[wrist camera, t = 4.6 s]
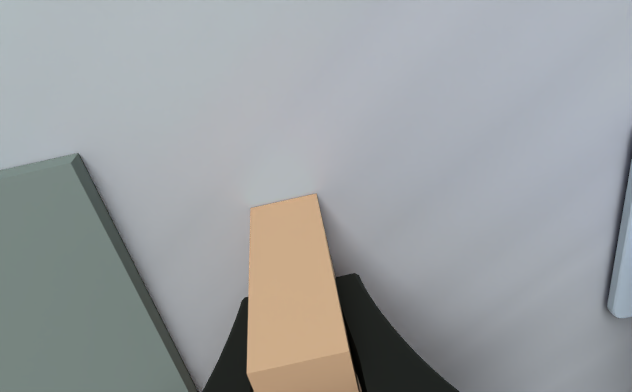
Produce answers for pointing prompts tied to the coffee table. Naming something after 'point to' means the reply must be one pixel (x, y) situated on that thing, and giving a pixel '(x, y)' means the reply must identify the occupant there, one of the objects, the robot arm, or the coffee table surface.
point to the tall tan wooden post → (295, 304)
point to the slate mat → (74, 292)
